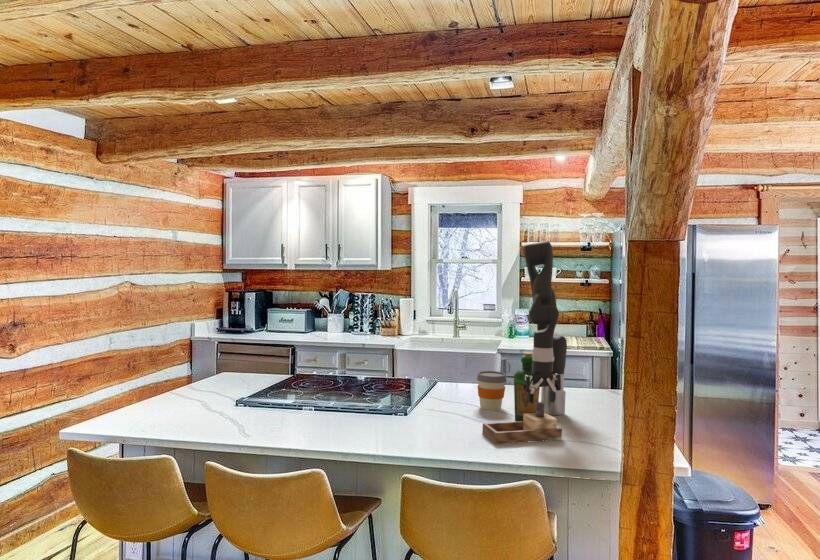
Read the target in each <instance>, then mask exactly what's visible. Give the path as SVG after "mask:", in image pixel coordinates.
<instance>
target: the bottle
mask: <svg viewBox="0 0 820 560" xmlns="http://www.w3.org/2000/svg"><path fill="white" fill-rule="evenodd" d="M532 356H533V352H529V351H527V352H525V351H524V352H523V355H521V359H520V363H521V364H522V366H521V368H519V369H518V370H516V372H515V373H514V374H513V394H514V398H513V399H514V422H515V421H523V414H527V413H536V402H540V401H539V399H540V398H539V397H540V391H541V389H540V388H541V387H539V386H538V388H537V389H536V390H535V391H534V392H533V394H534V403H533V404H531V403H529V401H528V392H526V391H524V390H523V383H524V375H528V376H532ZM532 382H533V380H532V379H531V381H530V384H531V383H532ZM530 384H529V387H530Z"/></svg>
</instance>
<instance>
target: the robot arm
mask: <svg viewBox="0 0 820 560" xmlns="http://www.w3.org/2000/svg"><path fill="white" fill-rule="evenodd" d="M523 253H524V254H523V255H524V259H525V264H526V268H527V274H528V278H529V283H530V288H531V291H530V292H531V296H532V303H531V307H530V310H529V314H528V317H529V321H530V322H531V323H532V324H535V325H536V329H537V330H536V331H535V332H533V348H532V376H528V375H524V383H523V390H524V391H526V392H528V401H529V403H531V404H533V403H534V394H533V392H534V391H535V390H536V389H537V388H538V386H539V387H540V388H541V389H540V391H541V392H540V393H541V395H540V402H543V403H545V404H544V413H547V414H550V416H559V415H558V414H560V415H563V414H562V413H565V414H566V390H564V388H565V387H564V386H565V385H564V384H565V370H566V361H567V351H568V350H567V349H568V343H567V339H566V337H565V336H563V335H557V334H555V329H556V326H557V323H558V320H559V316H560V312H559V309H558V307H557V299H556V294H555V291H554V289H553V288H552V279H553V278H552V276H553V267H554V266H553V265H554V253H553V247H552V244H551V243H550V241H547V240H546V241H545V240H544V241H538V242H530V243H529V242H528V243H526V244H525V245H524V248H523ZM541 265H543V267H542V269H541V270H540V272H539V271H538V269H537V267H536V266H541ZM531 379H532V380H533V382H532V383H531V384H530V381H531ZM529 384H530V387H529Z"/></svg>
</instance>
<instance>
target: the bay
mask: <svg viewBox="0 0 820 560" xmlns="http://www.w3.org/2000/svg"><path fill="white" fill-rule="evenodd" d="M482 435H483V436H484V437H486V438H487V439H489V441H491V442H492V443H493V444H495V445H503V444H519V443H518V442H522V443H529V442H528V441H537V442H546V441H545V440H552V441H561V440H560V439H562V440H563V438H562V437H563V429H562V428H561V427H558V428H553V429H537V430H523V421H515V420H514V421H501V422H500V421H499V422H483V423H482ZM543 440H544V441H543Z"/></svg>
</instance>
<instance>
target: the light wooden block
mask: <svg viewBox="0 0 820 560" xmlns="http://www.w3.org/2000/svg"><path fill="white" fill-rule="evenodd" d="M544 404H545V403H543V402H541V401H538V402H536V413H527V414H523V430H537V429H553V428H557V427H558V426H557V423H558V422H557V421H558V419H557V418H556V417H554V416H553V415H549V414H547V413H544Z"/></svg>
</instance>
